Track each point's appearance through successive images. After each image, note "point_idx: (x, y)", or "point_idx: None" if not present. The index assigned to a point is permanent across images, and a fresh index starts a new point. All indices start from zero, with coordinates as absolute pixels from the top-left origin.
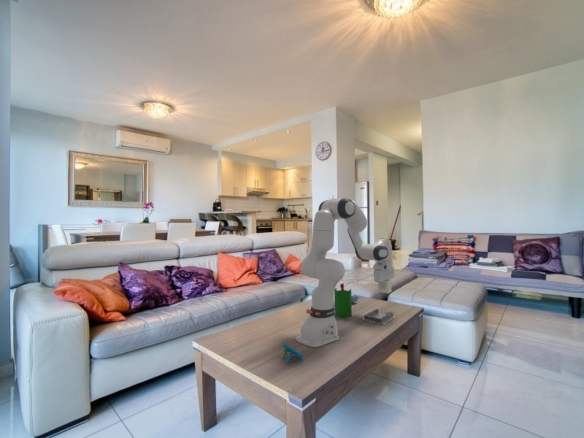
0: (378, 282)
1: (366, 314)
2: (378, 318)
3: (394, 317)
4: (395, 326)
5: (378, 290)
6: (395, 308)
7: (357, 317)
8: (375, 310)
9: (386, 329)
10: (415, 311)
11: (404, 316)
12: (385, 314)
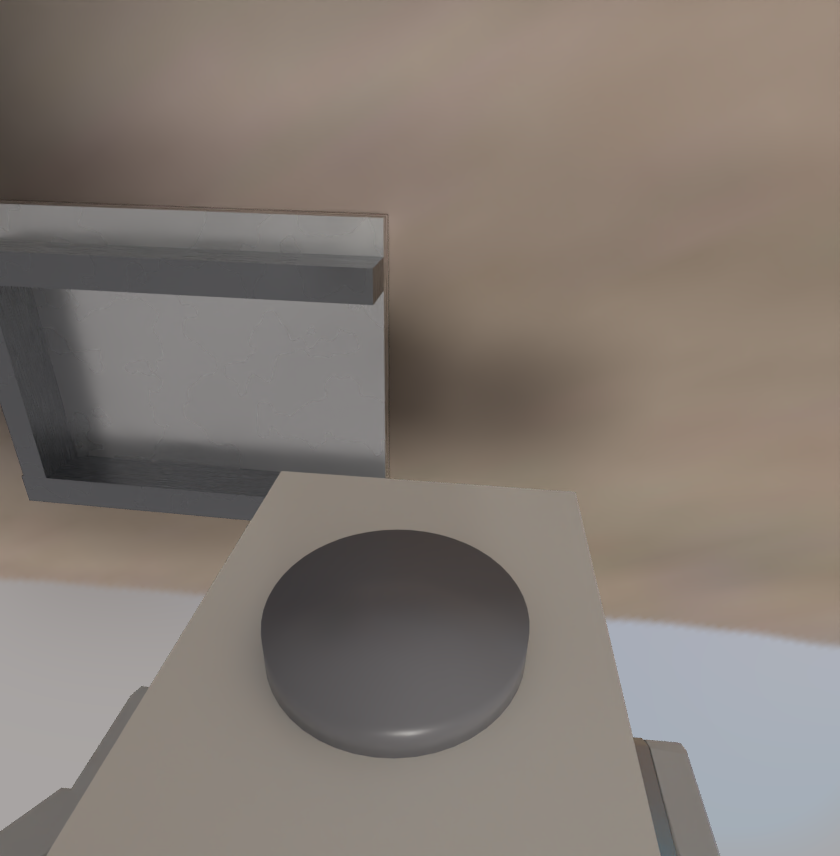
0: (91, 799)
1: (6, 262)
2: (30, 464)
3: None
4: (162, 581)
5: (270, 495)
6: (836, 391)
7: (16, 72)
8: (277, 293)
9: (28, 540)
10: (804, 632)
11: None
12: (370, 409)
